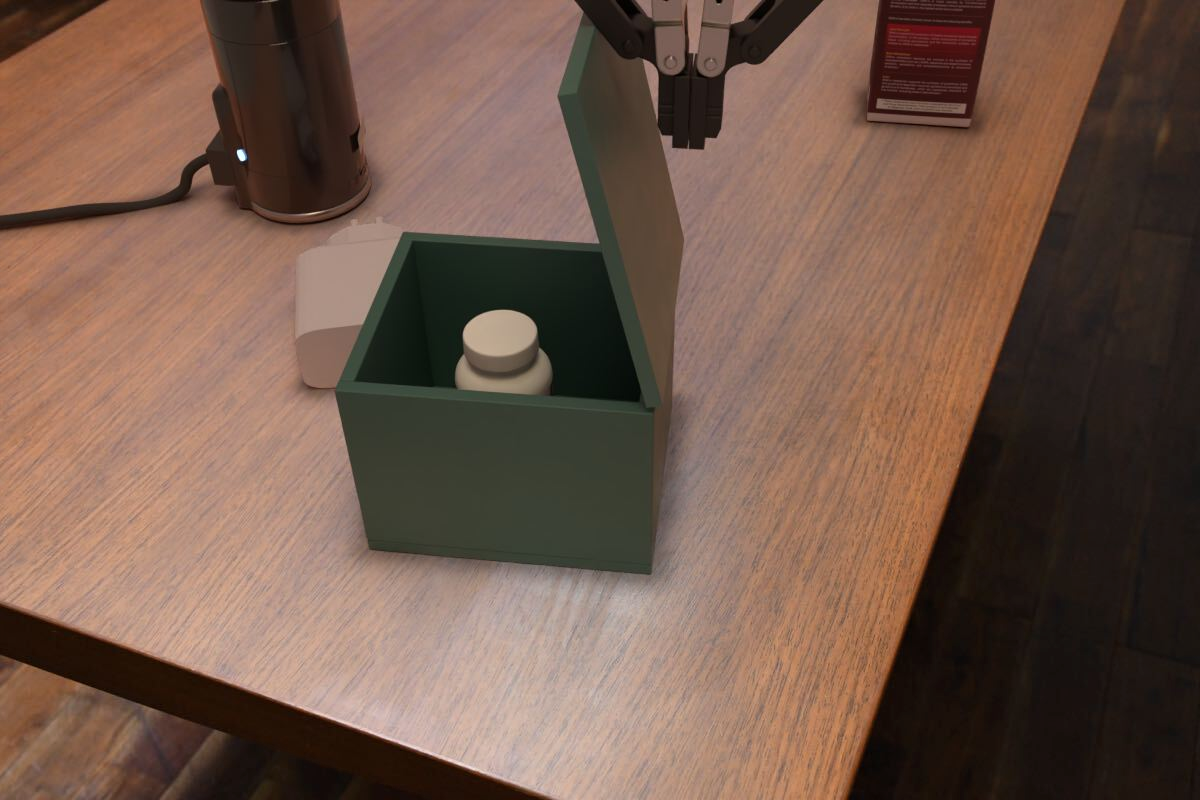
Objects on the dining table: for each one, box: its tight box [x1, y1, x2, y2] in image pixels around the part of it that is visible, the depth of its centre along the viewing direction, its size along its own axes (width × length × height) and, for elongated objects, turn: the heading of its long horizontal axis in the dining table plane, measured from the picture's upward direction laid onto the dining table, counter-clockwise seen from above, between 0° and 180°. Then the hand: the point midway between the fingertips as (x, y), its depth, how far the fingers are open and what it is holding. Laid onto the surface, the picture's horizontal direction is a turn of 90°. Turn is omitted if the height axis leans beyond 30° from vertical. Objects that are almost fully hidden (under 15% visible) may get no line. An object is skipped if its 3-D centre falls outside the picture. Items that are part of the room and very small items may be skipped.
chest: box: [333, 231, 676, 575], centre depth 67 cm, size 16×14×12 cm
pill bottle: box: [455, 310, 554, 396], centre depth 67 cm, size 5×5×10 cm
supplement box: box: [866, 0, 996, 128], centre depth 96 cm, size 9×5×16 cm, turn 80°
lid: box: [556, 11, 685, 408], centre depth 56 cm, size 16×14×1 cm
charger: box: [294, 215, 408, 389], centre depth 81 cm, size 5×9×15 cm
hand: (688, 140), depth 55 cm, fingers closed
